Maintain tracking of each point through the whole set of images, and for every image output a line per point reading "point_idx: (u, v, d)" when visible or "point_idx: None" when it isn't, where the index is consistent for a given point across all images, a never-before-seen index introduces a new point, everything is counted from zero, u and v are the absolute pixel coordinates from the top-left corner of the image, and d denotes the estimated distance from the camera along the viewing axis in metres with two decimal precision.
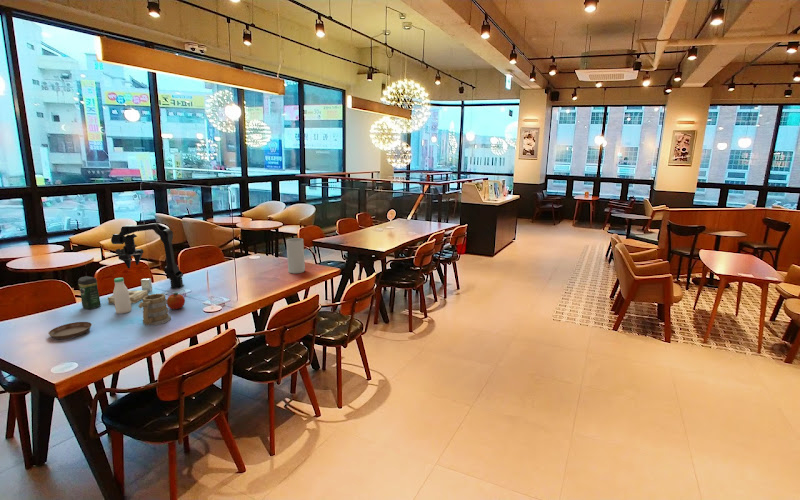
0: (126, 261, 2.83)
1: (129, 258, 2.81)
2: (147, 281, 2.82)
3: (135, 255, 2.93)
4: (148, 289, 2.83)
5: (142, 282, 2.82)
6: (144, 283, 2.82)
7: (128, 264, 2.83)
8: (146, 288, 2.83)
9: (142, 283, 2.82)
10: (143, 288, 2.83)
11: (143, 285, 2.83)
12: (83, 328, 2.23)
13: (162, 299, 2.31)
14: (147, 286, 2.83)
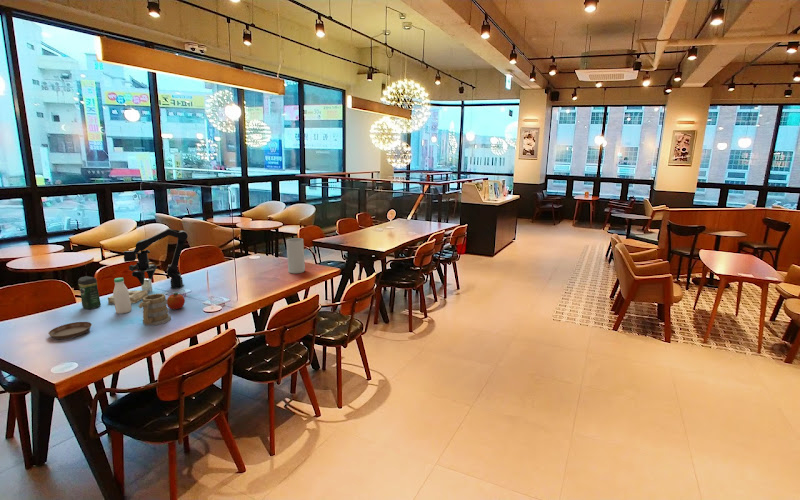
0: (140, 277, 2.77)
1: (143, 275, 2.75)
2: (147, 281, 2.82)
3: (148, 271, 2.88)
4: (148, 289, 2.83)
5: None
6: (144, 283, 2.82)
7: (142, 281, 2.78)
8: (146, 288, 2.83)
9: None
10: (143, 288, 2.83)
11: (143, 285, 2.83)
12: (83, 328, 2.23)
13: (162, 299, 2.30)
14: (147, 286, 2.83)
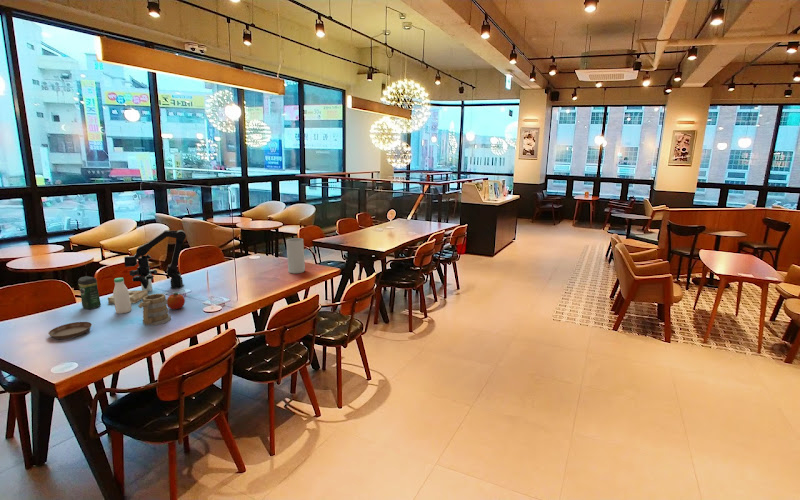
0: (143, 281, 2.81)
1: (143, 280, 2.76)
2: None
3: (146, 277, 2.85)
4: (148, 289, 2.83)
5: None
6: None
7: (145, 284, 2.81)
8: (146, 288, 2.83)
9: None
10: (143, 288, 2.83)
11: None
12: (83, 328, 2.23)
13: (162, 299, 2.31)
14: (147, 286, 2.83)
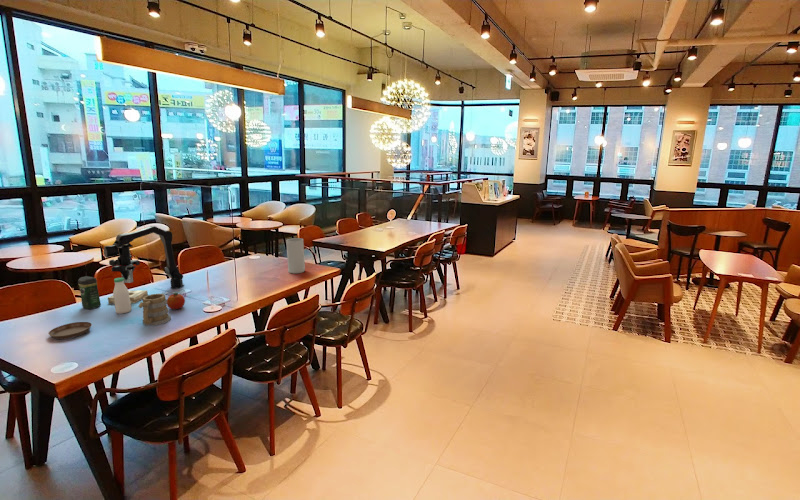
0: (123, 272, 2.64)
1: (123, 270, 2.59)
2: (128, 272, 2.65)
3: (127, 268, 2.69)
4: (129, 280, 2.67)
5: None
6: None
7: (125, 275, 2.65)
8: None
9: None
10: None
11: None
12: (83, 328, 2.23)
13: (162, 299, 2.31)
14: (128, 277, 2.66)
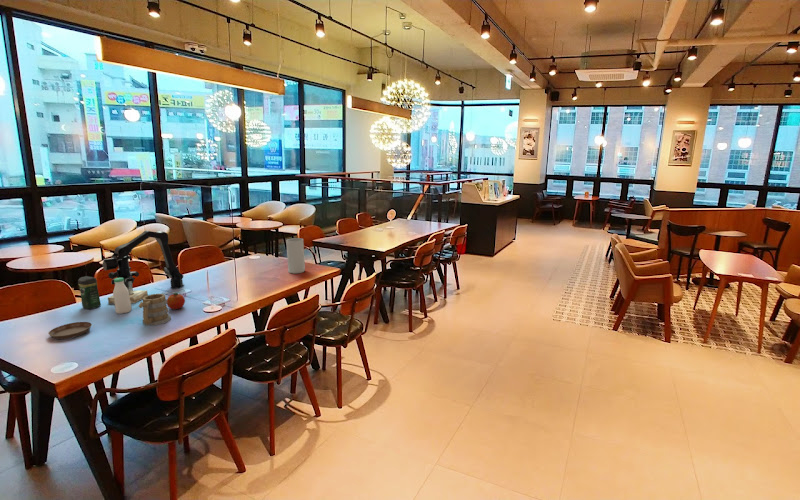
0: None
1: None
2: None
3: (127, 280, 2.68)
4: None
5: None
6: None
7: None
8: None
9: None
10: None
11: None
12: (83, 328, 2.23)
13: (162, 299, 2.30)
14: None
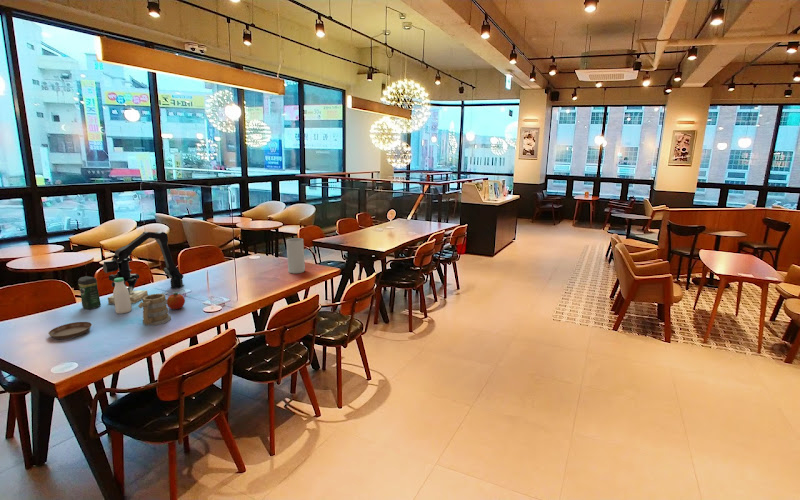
0: None
1: None
2: (128, 289, 2.66)
3: (129, 281, 2.71)
4: None
5: None
6: None
7: None
8: None
9: None
10: None
11: None
12: (83, 328, 2.23)
13: (162, 299, 2.30)
14: None
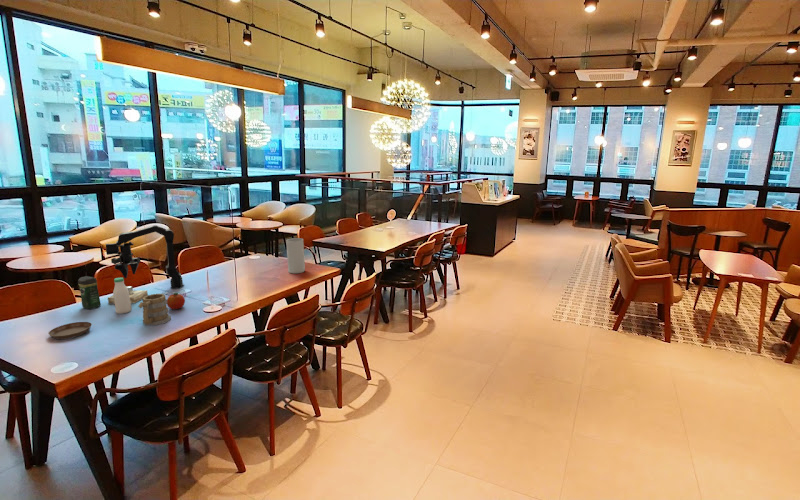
0: (123, 271, 2.70)
1: (126, 267, 2.68)
2: (128, 289, 2.66)
3: (132, 264, 2.81)
4: None
5: None
6: None
7: (125, 274, 2.71)
8: None
9: None
10: None
11: None
12: (83, 328, 2.23)
13: (162, 299, 2.30)
14: None
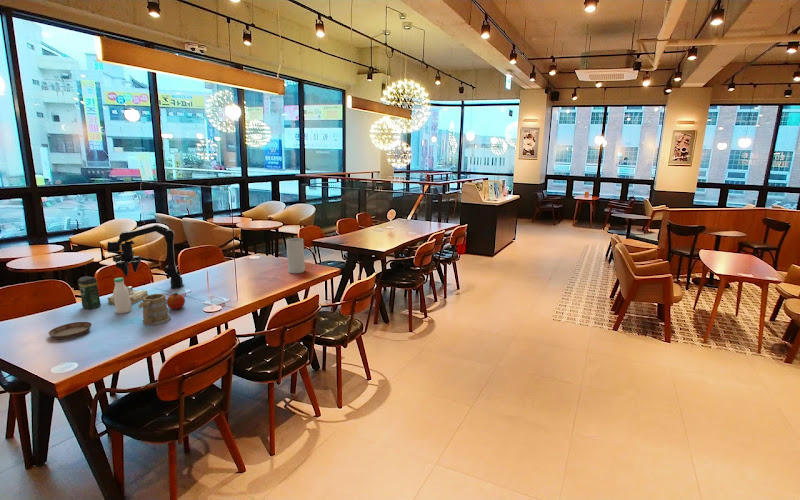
0: (123, 269, 2.74)
1: (127, 266, 2.72)
2: (128, 289, 2.66)
3: (133, 262, 2.84)
4: None
5: None
6: None
7: (126, 272, 2.74)
8: None
9: None
10: None
11: None
12: (83, 328, 2.23)
13: (162, 299, 2.31)
14: None
